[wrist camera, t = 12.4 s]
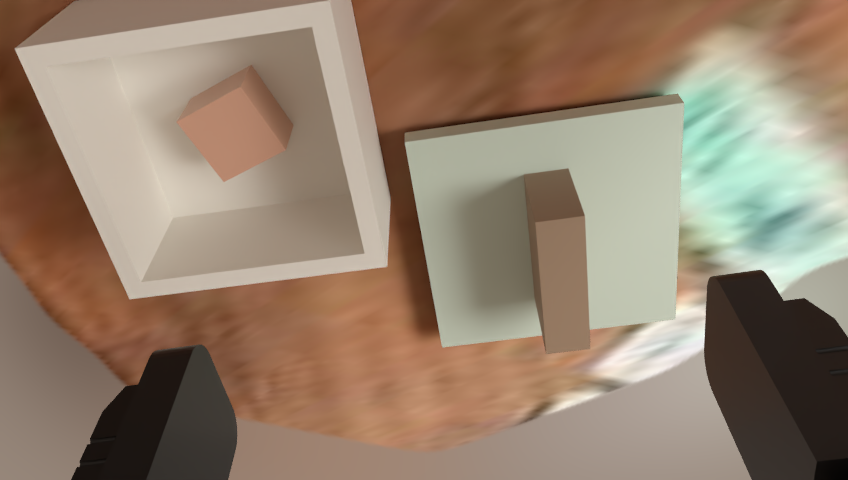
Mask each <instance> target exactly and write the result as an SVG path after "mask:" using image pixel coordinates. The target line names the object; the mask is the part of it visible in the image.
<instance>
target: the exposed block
mask: <svg viewBox="0 0 848 480" xmlns="http://www.w3.org/2000/svg"><path fill="white" fill-rule="evenodd" d="M177 123H178V125H179V126H180V127H181V129H182V130H183V131H184V132H185V134H186V135H187V136H188V137H189V139H190V140H191V141H192V142H193V144H194V145H195V146H196V148H197V149H198V150H199V151H200V153H201V154H202V155H203V156H204V158H205V159H206V160H207V161H208V163H209V164H210V165H211V167H212V168H213V169H214V170H215V172H216V173H217V174H218V175H219V177H220V178H221V179H222V180H223V182H225V181H227V180H229V179H231V178H233V177H235V176H237V175H239V174H241V173H243V172H244V171H246V170H248V169H250V168H252V167H254V166H256V165H258V164H260V163H262V162H264V161H266V160H268V159H270V158H272V157H273V156H275V155H277V154H279V153H281V152H283V151H285V150H286V149H287V145H288V142H289V139H290V136H291V132H292V129H293V126H294V125H293V123H292V122H291V121H290V119H289V118H288V116H287V115H286V113H285V112H284V111H283V109H282V108H281V106H280V105H279V103H278V102H277V101H276V99H275V98H274V96H273V95H272V93H271V92H270V91H269V89H268V88H267V86H266V85H265V83H264V82H263V80H262V79H261V78H260V76H259V75H258V73H257V72H256V70H255V69H254V68H253V66H252V65H250V66H248V67H246V68H244V69H242V70H241V71H239V72H237V73H235V74H234V75H232V76H230V77H228V78H226V79H225V80H223V81H221V82H219V83H217V84H216V85H214V86H212V87H210V88H209V89H207V90H205V91H203V92H201V93H200V94H198V95H196V96H194V97H192V98H191V99H190V101H189V102H188V104H187V105H186V107H185V109H184V110H183V112H182V114H181V115H180V117H179V119H178V120H177Z"/></svg>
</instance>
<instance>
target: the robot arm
mask: <svg viewBox="0 0 848 480" xmlns="http://www.w3.org/2000/svg"><path fill="white" fill-rule="evenodd" d="M704 357H705V365H706V371H707V376H708V380H709V383H710V386H711V389H712V391H713V394H714V396H715V398H716V400H717V403H718V405H719V407H720V409H721V412H722V414H723V416H724V418H725V420H726V423H727V425H728V427H729V430H730V432H731V434H732V436H733V439H734V441H735V443H736V445H737V447H738V450H739V452H740V454H741V456H742V459H743V461H744V463H745V465H746V467H747V470H748V472H749V474H750V477H751V479H752V480H848V337H847V336H846V334H845V333H844V331H843V330H842V328H841V327H840V326H839V324H838V323H837V321H836V320H835V319H834V318H833V317H831V316H830V315H828V314H827V313H825V312H824V311H822V310H821V309H819V308H818V307H816V306H815V305H814V304H812V303H810V302H809V301H808V300H806V299H805V298H803V299H795V300H788V301H783V299H782V297H781V296H780V294H779V293H778V291H777V290H776V288H775V287H774V285H773V283H772V282H771V280H770V279H769V277H768V276H767V274H766V273H765V272H764V271H762V270H756V271H748V272H741V273H734V274H726V275H719V276H712V277H710V278H709V281H708V285H707V302H706V323H705V344H704ZM90 441H91V442H90V444H88V445H87V447H86V449H85V451H84V453H83V455H82V458H81V460H80V467H77V468H76V471H75V473H74V475H73V477H72V479H71V480H228V478H229V473H230V469H231V466H232V462H233V458H234V453H235V450H236V444H237V424H236V418H235V413H234V410H233V407H232V405H231V403H230V401H229V398H228V396H227V394H226V391H225V389H224V387H223V384H222V382H221V380H220V377H219V375H218V373H217V370H216V368H215V366H214V363H213V361H212V359H211V357H210V354H209V352H208V351H207V349H206V348H205V347H204V346H203V345H193V346H185V347H178V348H171V349H163V350H157V351H155V352H153V353H152V355H151V356H150V358H149V360H148V363H147V365H146V367H145V370H144V372H143V374H142V377H141V379H140V381H139V384H138V385H132V386H126V387H125V388H124V389H123V390H122V391H121V392H120V393H119V394H118V395H117V396H116V398H115V399H114V400H113V401H112V402H111V403H110V404H109V405H108V406H107V408H106V409H105V410H104V411H103V412H102V414H101V416H100V418H99V420H98V423H97V425H96V427H95V429H94V432H93V434H92V436H91V438H90Z"/></svg>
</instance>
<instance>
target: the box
mask: <svg viewBox="0 0 848 480" xmlns="http://www.w3.org/2000/svg"><path fill="white" fill-rule="evenodd" d="M15 51H16V53H17V55H18V57H19V60H20V62H21V64H22V66H23V68H24V70H25V73H26V75H27V77H28V79H29V81H30V84H31V86H32V88H33V90H34V92H35V94H36V97H37V99H38V101H39V103H40V105H41V107H42V110H43V112H44V114H45V116H46V118H47V121H48V123H49V125H50V127H51V129H52V131H53V134H54V136H55V138H56V140H57V142H58V144H59V147H60V149H61V151H62V153H63V155H64V158H65V160H66V162H67V164H68V166H69V168H70V171H71V173H72V175H73V177H74V179H75V181H76V184H77V186H78V188H79V190H80V192H81V195H82V197H83V199H84V201H85V203H86V205H87V208H88V210H89V212H90V214H91V216H92V218H93V221H94V223H95V225H96V227H97V229H98V232H99V234H100V236H101V238H102V240H103V242H104V245H105V247H106V249H107V251H108V253H109V255H110V258H111V260H112V262H113V264H114V266H115V269H116V271H117V273H118V275H119V277H120V279H121V282H122V284H123V286H124V288H125V290H126V292H127V295H128V297H129V299H136V298H144V297H152V296H160V295H168V294H175V293H183V292H191V291H199V290H207V289H215V288H223V287H231V286H239V285H247V284H255V283H263V282H271V281H278V280H286V279H294V278H302V277H310V276H318V275H326V274H334V273H342V272H350V271H358V270H366V269H373V268H381V267H387V260H388V241H389V223H390V204H391V197H390V192H389V187H388V182H387V177H386V172H385V167H384V162H383V157H382V152H381V147H380V142H379V137H378V132H377V127H376V122H375V117H374V112H373V107H372V102H371V97H370V92H369V87H368V82H367V77H366V72H365V67H364V62H363V57H362V52H361V47H360V42H359V37H358V32H357V27H356V22H355V17H354V12H353V7H352V2H351V0H78V1H74V2H72V3H71V4H70V5H69V6H67V7H66V8H65V9H64V10H62V11H61V12H60V13H59V14H57V15H56V16H55V17H54V18H52V19H51V20H50V21H48V22H47V23H46V24H45V25H43V26H42V27H41V28H40V29H38V30H37V31H36V32H35V33H33V34H32V35H31V36H30V37H28V38H27V39H26V40H25V41H23V42H22V43H21V44H20V45H18V46H17V47H16V48H15ZM250 65H252V66H253V68H254V69H255V70H256V72H257V73H258V75H259V76H260V78H261V79H262V80H263V82H264V83H265V85H266V86H267V88H268V89H269V91H270V92H271V93H272V95H273V96H274V98H275V99H276V101H277V102H278V103H279V105H280V106H281V108H282V109H283V111H284V112H285V113H286V115H287V116H288V118H289V119H290V121H291V122H292V123H293V125H294V126H293V129H292V132H291V136H290V139H289V142H288V145H287V149H286V150H285V151H283V152H281V153H279V154H277V155H275V156H273V157H272V158H270V159H268V160H266V161H264V162H262V163H260V164H258V165H256V166H254V167H252V168H250V169H248V170H246V171H244V172H243V173H241V174H239V175H237V176H235V177H233V178H231V179H229V180H227V181H225V182H223V180H222V179H221V178H220V177H219V175H218V174H217V173H216V172H215V170H214V169H213V168H212V167H211V165H210V164H209V163H208V161H207V160H206V159H205V158H204V156H203V155H202V154H201V153H200V151H199V150H198V149H197V148H196V146H195V145H194V144H193V142H192V141H191V140H190V139H189V137H188V136H187V135H186V134H185V132H184V131H183V130H182V129H181V127H180V126H179V125H178V123H177V120H178V119H179V117H180V115H181V114H182V112H183V110H184V109H185V107H186V105H187V104H188V102H189V101H190V99H191V98H192V97H194V96H196V95H198V94H200V93H201V92H203V91H205V90H207V89H209V88H210V87H212V86H214V85H216V84H217V83H219V82H221V81H223V80H225V79H226V78H228V77H230V76H232V75H234V74H235V73H237V72H239V71H241V70H242V69H244V68H246V67H248V66H250Z"/></svg>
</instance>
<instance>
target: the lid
mask: <svg viewBox="0 0 848 480" xmlns="http://www.w3.org/2000/svg"><path fill="white" fill-rule="evenodd" d="M683 118H684V102H683V101H682V99H681V98H680V96H679V95H678V94H672V95H665V96H658V97H651V98H644V99H637V100H630V101H623V102H616V103H609V104H602V105H595V106H588V107H581V108H574V109H567V110H560V111H553V112H546V113H539V114H532V115H525V116H518V117H511V118H504V119H497V120H490V121H483V122H476V123H469V124H462V125H455V126H448V127H441V128H434V129H427V130H420V131H413V132H406V133H405V147H406V153H407V158H408V164H409V169H410V174H411V180H412V185H413V191H414V196H415V202H416V207H417V213H418V218H419V224H420V229H421V235H422V240H423V245H424V251H425V256H426V262H427V267H428V273H429V278H430V284H431V289H432V295H433V300H434V306H435V311H436V316H437V322H438V327H439V333H440V338H441V344H442V347H450V346H458V345H466V344H475V343H483V342H491V341H499V340H508V339H516V338H524V337H533V336H541V335H542V336H543V341H544V346H545V350H546V354H551V353H560V352H568V351H576V350H585V349H590V329H599V328H607V327H615V326H623V325H632V324H640V323H648V322H656V321H665V320H673V319H675V314H676V289H677V265H678V240H679V216H680V191H681V167H682V142H683Z"/></svg>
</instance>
